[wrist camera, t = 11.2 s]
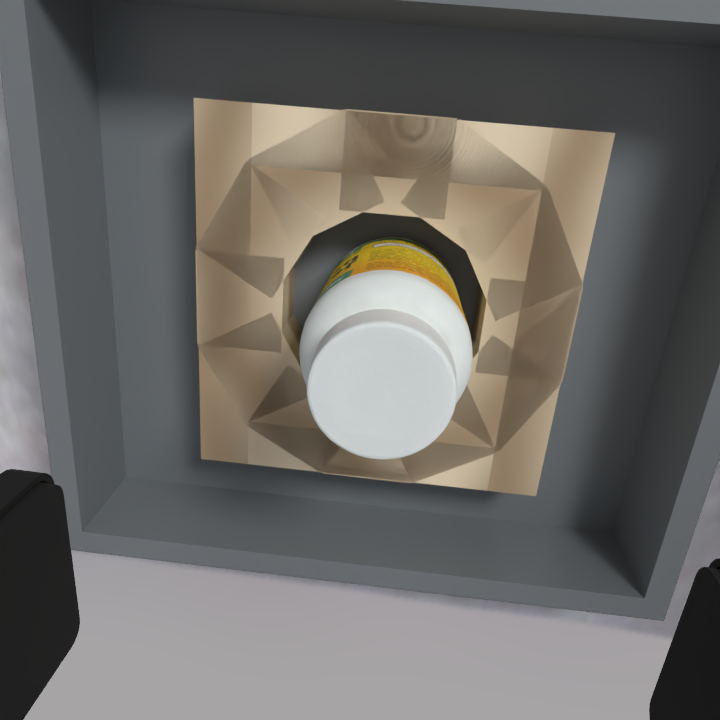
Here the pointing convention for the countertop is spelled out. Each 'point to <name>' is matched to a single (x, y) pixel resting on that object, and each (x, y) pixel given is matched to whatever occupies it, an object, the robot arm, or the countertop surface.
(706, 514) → the countertop surface
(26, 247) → the open box
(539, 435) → the bore plate
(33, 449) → the countertop surface
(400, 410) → the supplement bottle
